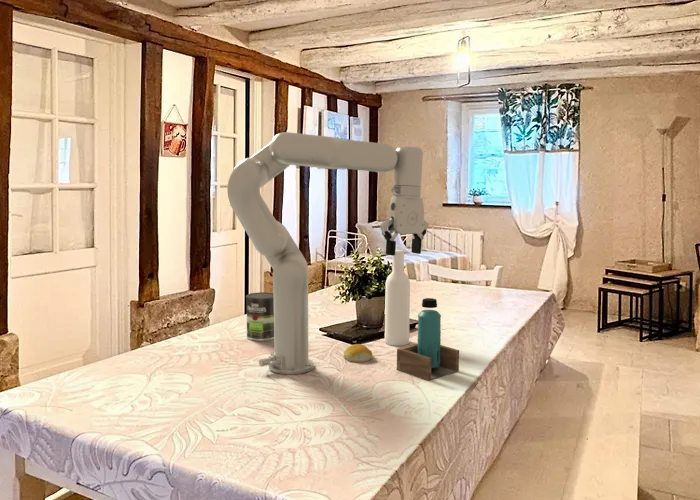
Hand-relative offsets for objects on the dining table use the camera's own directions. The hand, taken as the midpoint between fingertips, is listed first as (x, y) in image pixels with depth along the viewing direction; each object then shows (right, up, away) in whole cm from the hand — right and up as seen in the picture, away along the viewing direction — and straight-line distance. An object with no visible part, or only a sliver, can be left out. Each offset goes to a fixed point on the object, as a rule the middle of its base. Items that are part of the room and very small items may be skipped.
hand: (403, 254), depth 174 cm
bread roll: (-12, -31, +12) cm, 35 cm away
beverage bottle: (+7, -32, 0) cm, 33 cm away
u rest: (+7, -32, 0) cm, 33 cm away
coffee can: (-44, -28, +34) cm, 62 cm away
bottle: (0, -29, +28) cm, 40 cm away
